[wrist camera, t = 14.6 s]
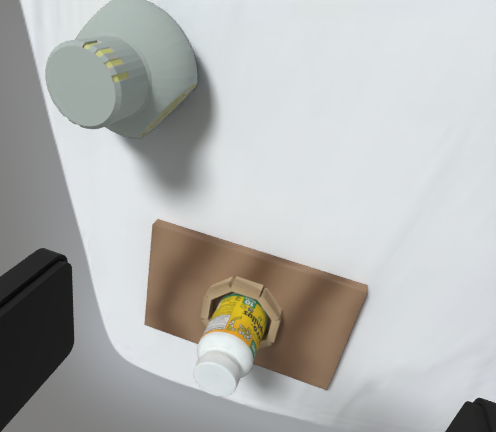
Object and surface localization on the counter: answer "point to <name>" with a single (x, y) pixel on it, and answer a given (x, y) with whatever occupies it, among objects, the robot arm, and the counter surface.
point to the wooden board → (257, 287)
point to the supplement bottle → (229, 344)
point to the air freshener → (123, 69)
